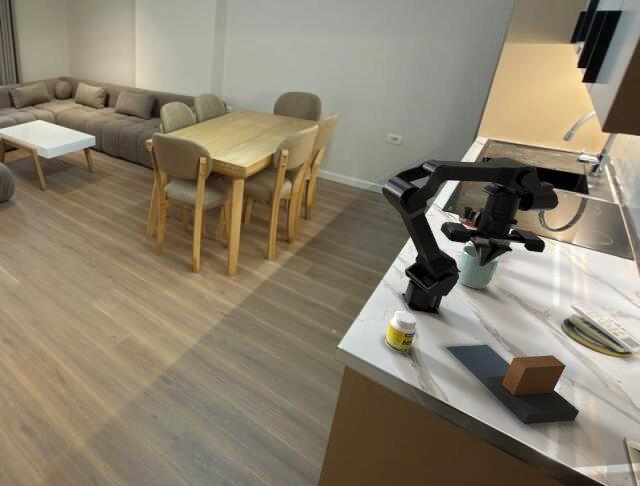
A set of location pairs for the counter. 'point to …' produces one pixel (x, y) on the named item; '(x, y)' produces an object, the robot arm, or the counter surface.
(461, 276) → the cup
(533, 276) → the counter surface
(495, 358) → the mat
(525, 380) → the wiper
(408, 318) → the supplement bottle
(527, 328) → the counter surface
